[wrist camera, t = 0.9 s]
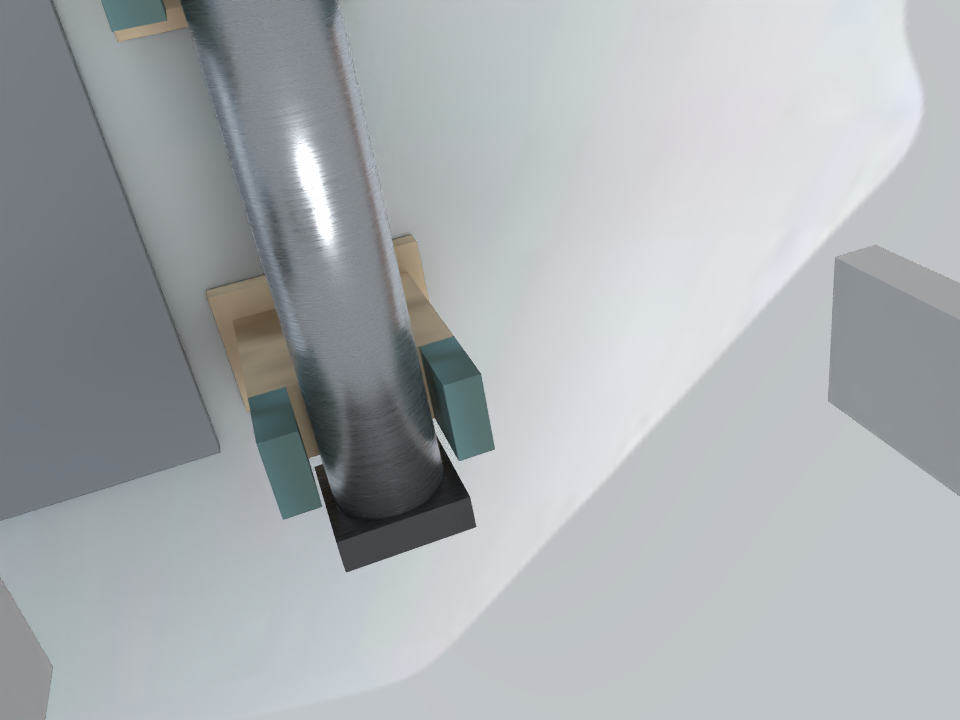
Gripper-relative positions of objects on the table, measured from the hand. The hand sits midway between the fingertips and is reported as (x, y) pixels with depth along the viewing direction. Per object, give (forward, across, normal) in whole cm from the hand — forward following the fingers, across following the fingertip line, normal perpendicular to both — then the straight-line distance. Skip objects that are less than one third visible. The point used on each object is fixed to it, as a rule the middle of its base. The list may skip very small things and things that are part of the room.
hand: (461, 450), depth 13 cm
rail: (+14, 0, 0) cm, 14 cm away
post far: (+21, 0, -7) cm, 22 cm away
